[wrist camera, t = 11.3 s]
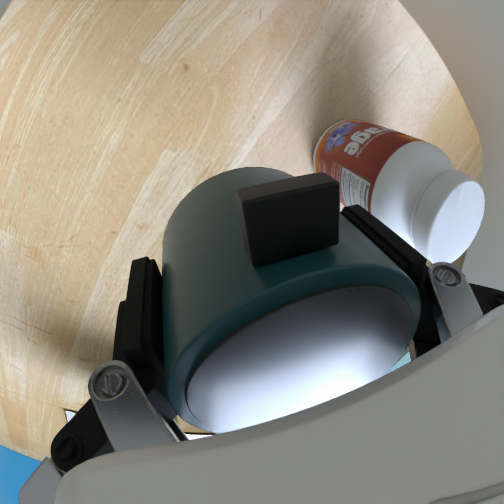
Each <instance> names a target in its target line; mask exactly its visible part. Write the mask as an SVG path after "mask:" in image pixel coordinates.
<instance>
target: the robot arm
mask: <svg viewBox="0 0 504 504" xmlns="http://www.w3.org/2000/svg"><path fill="white" fill-rule="evenodd" d="M340 214H341V215H343V216H344V217H345V218H346V219H347V220H348V221H350V222H351V223H352V224H353V225H354V226H355V227H356V228H358V229H359V230H360V231H361V232H362V233H363V234H364V235H365V236H366V237H368V238H369V239H370V240H371V241H372V242H373V243H374V244H375V245H376V246H377V247H378V248H380V249H381V250H382V251H383V252H384V253H385V254H386V255H387V256H388V257H389V258H390V259H391V260H392V261H393V262H394V263H395V264H396V265H397V266H398V267H400V268H401V269H402V270H403V271H404V272H405V273H406V274H407V275H408V276H409V277H410V279H411V280H412V281H413V282H414V284H415V285H416V287H417V290H418V292H419V295H420V301H421V313H420V318H419V323H418V326H417V329H416V332H415V334H414V336H413V338H412V340H411V342H410V344H409V345H408V347H409V352H410V358H411V362H409V363H407V364H405V365H404V366H402V367H400V368H398V369H396V370H394V371H393V372H390V373H388V374H386V375H384V376H382V377H380V378H378V379H376V380H374V381H372V382H370V383H368V384H366V385H363V386H361V387H359V388H357V389H355V390H352V391H350V392H348V393H345V394H343V395H341V396H338V397H336V398H333V399H331V400H328V401H326V402H323V403H321V404H318V405H315V406H313V407H310V408H307V409H304V410H301V411H299V412H296V413H293V414H290V415H287V416H284V417H280V418H277V419H274V420H271V421H267V422H264V423H261V424H257V425H253V426H250V427H246V428H242V429H238V430H234V431H230V432H225V433H221V434H216V435H212V436H207V437H202V438H197V439H192V440H189V438H188V437H187V436H186V434H185V433H184V432H183V431H182V429H181V428H180V426H179V425H178V424H177V422H176V421H175V420H174V418H175V417H176V416H177V414H176V412H175V411H174V409H173V408H172V407H171V405H170V402H169V400H168V397H167V390H166V379H165V365H164V348H163V322H162V276H161V273H160V271H159V268H158V266H157V263H156V261H155V259H152V260H150V259H149V258H148V257H143V258H140V259H136V260H133V261H132V264H131V270H130V277H129V283H128V290H127V297H126V300H125V301H121V302H120V304H119V309H118V316H117V323H116V331H115V340H114V349H113V360H112V361H107V362H105V363H103V364H101V365H100V366H98V367H97V368H96V369H95V370H94V371H93V373H92V374H91V376H90V379H89V383H88V390H89V394H90V397H91V398H90V399H89V400H88V401H87V402H86V403H85V405H84V406H83V407H82V408H81V409H80V410H79V411H78V412H77V413H76V414H75V415H74V416H73V417H72V418H71V420H70V421H69V422H68V423H67V424H66V425H65V426H64V427H63V428H62V429H61V430H60V431H59V432H58V434H57V435H56V436H55V438H54V439H53V441H52V444H51V458H48V457H46V458H45V459H44V460H43V461H42V462H41V464H40V465H39V466H38V467H37V469H36V470H35V471H34V472H33V474H32V475H31V476H30V477H29V479H28V480H27V481H26V483H25V484H24V485H23V486H22V487H21V489H20V491H19V503H20V504H504V292H503V291H500V290H497V289H493V288H488V287H484V286H480V285H475V284H471V283H468V281H467V279H466V277H465V275H464V274H463V272H462V271H461V270H460V269H459V268H458V267H457V266H455V265H453V264H450V263H447V262H436V263H433V264H432V265H431V266H430V267H429V268H428V267H427V266H426V261H427V259H426V258H424V257H423V256H422V255H421V254H420V253H419V252H418V251H416V250H415V249H414V248H413V247H412V246H411V245H409V244H408V243H407V242H406V241H405V240H403V239H402V238H401V237H400V236H399V235H397V234H396V233H395V232H394V231H392V230H391V229H390V228H389V227H387V226H386V225H385V224H384V223H382V222H381V221H380V220H379V219H377V218H376V217H375V216H373V215H372V214H371V213H369V212H368V211H367V210H365V209H364V208H363V207H362V206H360V205H358V204H355V205H351V206H346V207H344V208H343V210H342V211H341V212H340Z"/></svg>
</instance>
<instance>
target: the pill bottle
mask: <svg viewBox="0 0 504 504" xmlns="http://www.w3.org/2000/svg"><path fill="white" fill-rule="evenodd" d="M313 167H314V172H315V173H319V172H325V173H326V174H328V175H329V176H331V177H332V178H334V179H335V180H337V181H338V182H339V184H340V202H341V203H342V204H343V205H344V206H351V205H355V204H358V205H360V206H362V207H363V208H364V209H365V210H367V211H368V212H369V213H371V214H372V215H373V216H375V217H376V218H377V219H379V220H380V221H381V222H382V223H384V224H385V225H386V226H387V227H389V228H390V229H391V230H392V231H394V232H395V233H396V234H397V235H399V236H400V237H401V238H402V239H403V240H405V241H406V242H407V243H408V244H409V245H411V246H412V247H413V248H416V249H417V250H418V251H419V252H420V253H421V254H422V255H423V256H425V257H426V258H427V259H428V260H429V261H431V262H432V263H436V262H447V263H451V262H453V261H454V260H456V259H457V258H458V257H460V256H461V255H462V254H463V253H464V252H465V250H466V249H467V248H468V247H469V245H470V244H471V242H472V241H473V239H474V237H475V235H476V234H477V231H478V229H479V227H480V224H481V221H482V217H483V213H484V204H485V200H484V193H483V189H482V187H481V185H480V184H479V183H478V182H477V181H476V180H475V179H473V178H471V177H469V176H468V175H466V174H464V173H463V172H461V171H458V170H455V169H454V166H453V164H452V162H451V161H450V159H449V158H448V156H447V155H446V154H445V153H444V152H443V151H442V150H441V149H439V148H438V147H436V146H434V145H432V144H430V143H428V142H425V141H422V140H420V139H417V138H414V137H411V136H409V135H406V134H403V133H400V132H397V131H394V130H391V129H388V128H385V127H382V126H378V125H375V124H372V123H368V122H365V121H361V120H356V119H346V120H342V121H339V122H336V123H335V124H333V125H332V126H330V127H329V128H328V129H327V130H326V131H325V132H324V133H323V134H322V135H321V137H320V138H319V140H318V142H317V144H316V147H315V150H314V155H313Z"/></svg>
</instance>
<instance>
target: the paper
mask: <svg viewBox="0 0 504 504" xmlns="http://www.w3.org/2000/svg"><path fill="white" fill-rule="evenodd" d="M75 414H76V413H73V412H69V411H66V416H67V420H68V422H69V421H70V420H71V418H72V417H73V416H74V415H75ZM186 436H187V437H188V438H189V440H192V439H197V438H202V437H207V436H212V435H190V434H186Z"/></svg>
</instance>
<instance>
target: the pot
mask: <svg viewBox="0 0 504 504" xmlns="http://www.w3.org/2000/svg"><path fill="white" fill-rule="evenodd" d="M420 313H421V301H420V295H419V292H418V290H417V287H416V285H415V284H414V282H413V281H412V280H411V279H410V277H409V276H408V275H407V274H406V273H405V272H404V271H403V270H402V269H401V268H400V267H398V266H397V265H396V264H395V263H394V262H393V261H392V260H391V259H390V258H389V257H388V256H387V255H386V254H385V253H384V252H383V251H382V250H381V249H380V248H378V247H377V246H376V245H375V244H374V243H373V242H372V241H371V240H370V239H369V238H368V237H366V236H365V235H364V234H363V233H362V232H361V231H360V230H359V229H358V228H356V227H355V226H354V225H353V224H352V223H351V222H350V221H348V220H347V219H346V218H345V217H344V216H343V215H341V214H340V184H339V182H338V181H337V180H335V179H334V178H332V177H331V176H329V175H328V174H326V173H325V172H319V173H313V174H308V175H302V176H297V177H294V176H292V175H289V174H287V173H285V172H283V171H279V170H275V169H272V168H264V167H245V168H238V169H233V170H230V171H226V172H223V173H220V174H218V175H216V176H213V177H211V178H209V179H208V180H206V181H204V182H203V183H201V184H199V185H198V186H197V187H196V188H194V189H193V190H192V191H191V192H189V193H188V195H187V196H186V197H185V198H184V199H183V200H182V201H181V202H180V203H179V205H178V206H177V208H176V209H175V210H174V212H173V214H172V216H171V218H170V220H169V221H168V224H167V227H166V230H165V233H164V239H163V251H162V322H163V348H164V365H165V379H166V390H167V397H168V400H169V402H170V405H171V407H172V408H173V409H174V411H175V412H176V414H177V415H179V416H180V417H181V418H182V419H183V420H184V421H186V422H188V423H189V424H191V425H193V426H195V427H197V428H200V429H203V430H206V431H209V432H214V433H219V434H221V433H225V432H230V431H234V430H238V429H242V428H246V427H250V426H253V425H257V424H261V423H264V422H267V421H271V420H274V419H277V418H280V417H284V416H287V415H290V414H293V413H296V412H299V411H301V410H304V409H307V408H310V407H313V406H315V405H318V404H321V403H323V402H326V401H328V400H331V399H333V398H336V397H338V396H341V395H343V394H345V393H348V392H350V391H352V390H355V389H357V388H359V387H361V386H363V385H366V384H368V383H370V382H372V381H374V380H376V379H378V378H380V377H382V376H384V375H385V374H386V373H387V372H388V371H389V370H390V369H391V368H392V367H393V366H394V365H395V363H396V362H397V361H398V360H399V359H400V357H401V356H402V354H403V353H404V352H405V350H406V349H407V347H408V345H409V344H410V342H411V340H412V338H413V336H414V334H415V332H416V329H417V326H418V323H419V318H420Z"/></svg>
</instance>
